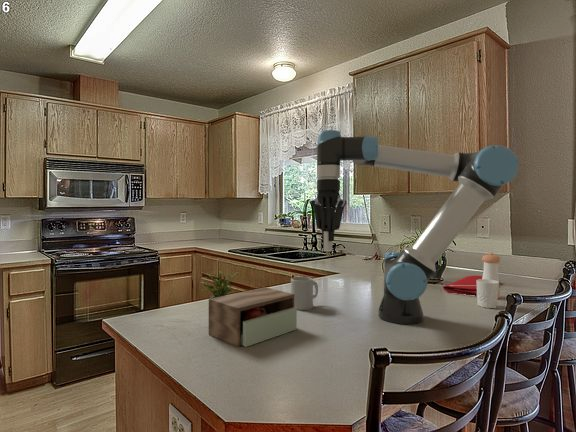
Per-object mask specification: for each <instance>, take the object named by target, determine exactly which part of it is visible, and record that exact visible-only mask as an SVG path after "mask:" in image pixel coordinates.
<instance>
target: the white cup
mask: <svg viewBox="0 0 576 432" xmlns="http://www.w3.org/2000/svg"><path fill="white" fill-rule="evenodd" d="M476 283H477V297H476V300H477V301H476V302H477V306H478V305H479V306H481V307H480V308H482V307H486V308H485V309H489V308H494V309H496V308H497V306H498V300H499V299H498V290H500V283H499V282H498V281H495V280H488V279H478V280H476ZM479 306H478V307H479Z"/></svg>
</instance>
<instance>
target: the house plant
mask: <svg viewBox="0 0 576 432" xmlns="http://www.w3.org/2000/svg"><path fill="white" fill-rule="evenodd" d="M210 273H212V274H213V272H212V271H210ZM232 273H233V271H232V272H229V273H227V274H224V276H223V272H222V270H220V271H219V274H218V275H219V276H218V277H217V276H216V275H215V274H213V275H211V274H208V273H203V274H204V275H206V276H207V277H206V279H207V280H209V279H208V278H211V280H212V284H213V285H211V284H210V283H207V282H203V281H199V283H200V284H202V285H203V286H205V287H206V288H205V287H204V288H203V289H202V291H204V290H209V291H211V293H212V294H213V295H214V296H213V295H212V296H211V297H210V298H209V299H211V298H216V297H221V296H226V295H228V293H229V292H232V291H234V290H235V289H233V288H235V286H233V285H230V284H231V281H233V280H234V279H235V277H234V276H235V275H236V274H238V273H239V271H238V272H237V271H236V272H234V273H233V274H232ZM230 274H231V275H230ZM228 275H230V276H229V278H228V279H227V277H228Z"/></svg>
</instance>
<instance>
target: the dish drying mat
mask: <svg viewBox="0 0 576 432" xmlns="http://www.w3.org/2000/svg"><path fill="white" fill-rule="evenodd" d="M482 277H483V275H469V276H468V275H467V276H465V277H462V278H461V279H458V280H455V281H453V282H451V283H449V284H445V285H443V286H442V289H443V290H444V291H445V292H446V293H450V294H453V293H457V294H456V295H459V294H466V295H475V296H477V283H476V280H478V279H482Z"/></svg>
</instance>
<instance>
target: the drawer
mask: <svg viewBox="0 0 576 432" xmlns="http://www.w3.org/2000/svg"><path fill="white" fill-rule="evenodd" d="M297 311H298V310H297V308H295V307H293V308H289V309H286V310H282V311H279V312H275V313H271V312H268V311H266V313H267V315H265V316H261V317H257V318H254V319H250V320H247V321H245V320H244V316H243V317H240V346H243V347H245V348H247V347H249V346H252V345H255V344H258V343H261V342H264V341H266V340H269V339H274V338H276V337H278V336H281V335H285V334H288V333H289V332H292V331H296V330H297V325H298V324H297V320H298V319H297V316H298V315H297V314H298V312H297Z"/></svg>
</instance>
